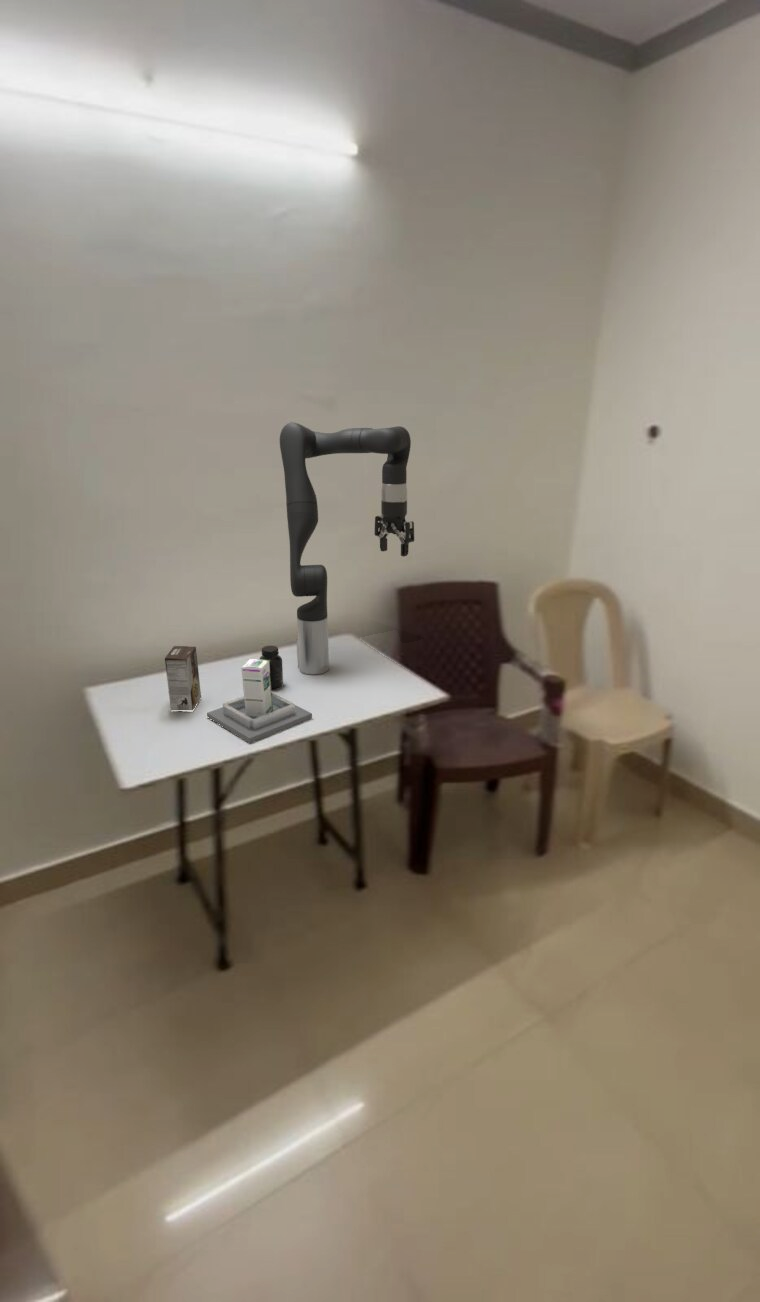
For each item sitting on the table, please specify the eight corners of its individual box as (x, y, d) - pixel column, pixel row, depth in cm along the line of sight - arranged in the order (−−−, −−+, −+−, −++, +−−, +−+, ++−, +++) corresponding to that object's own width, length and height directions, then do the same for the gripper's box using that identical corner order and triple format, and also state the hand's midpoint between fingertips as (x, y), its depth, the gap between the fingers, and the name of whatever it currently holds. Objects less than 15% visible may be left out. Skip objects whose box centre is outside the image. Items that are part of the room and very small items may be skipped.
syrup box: (265, 718, 192) (262, 667, 187) (244, 716, 193) (240, 666, 188) (273, 709, 197) (270, 659, 192) (252, 707, 199) (249, 658, 193)
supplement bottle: (256, 688, 214) (253, 650, 209) (267, 679, 220) (264, 642, 215) (276, 692, 211) (274, 653, 207) (287, 683, 217) (285, 645, 213)
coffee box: (179, 698, 208) (173, 645, 202) (202, 698, 208) (196, 645, 202) (170, 712, 199) (163, 657, 193) (193, 712, 199) (187, 658, 193)
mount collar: (221, 712, 195) (220, 704, 195) (265, 696, 205) (265, 688, 204) (252, 730, 186) (251, 722, 185) (297, 713, 195) (296, 704, 194)
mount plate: (207, 717, 196) (206, 712, 196) (268, 695, 209) (267, 691, 208) (250, 743, 183) (249, 738, 182) (312, 718, 196) (311, 713, 195)
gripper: (368, 497, 213) (368, 551, 219) (402, 503, 204) (402, 559, 210) (386, 494, 218) (386, 547, 224) (421, 500, 209) (420, 555, 215)
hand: (394, 553), depth 217 cm, fingers open, 8 cm apart
